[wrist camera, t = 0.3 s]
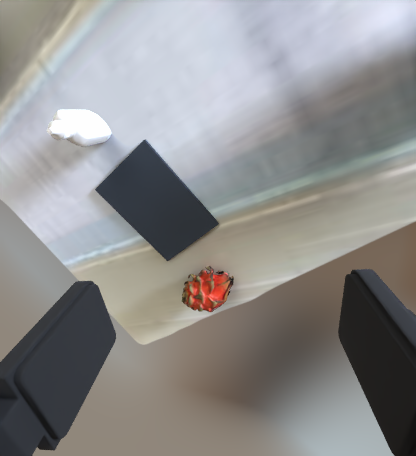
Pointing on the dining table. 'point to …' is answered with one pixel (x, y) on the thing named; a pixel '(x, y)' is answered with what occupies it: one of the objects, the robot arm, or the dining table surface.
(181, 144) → the dining table surface
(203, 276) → the dragon fruit
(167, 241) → the mat
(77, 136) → the eye dropper bottle
